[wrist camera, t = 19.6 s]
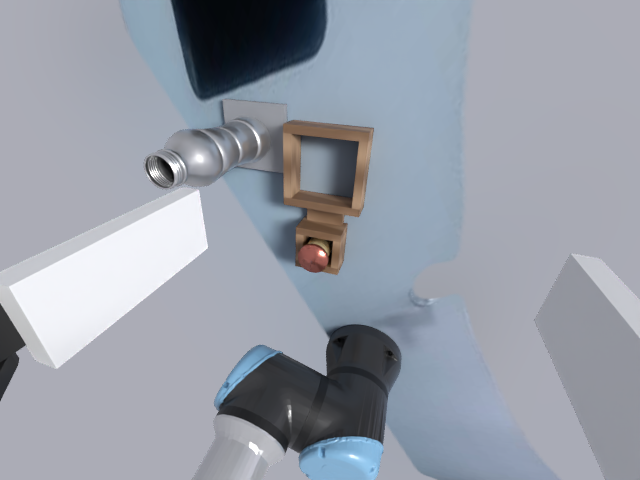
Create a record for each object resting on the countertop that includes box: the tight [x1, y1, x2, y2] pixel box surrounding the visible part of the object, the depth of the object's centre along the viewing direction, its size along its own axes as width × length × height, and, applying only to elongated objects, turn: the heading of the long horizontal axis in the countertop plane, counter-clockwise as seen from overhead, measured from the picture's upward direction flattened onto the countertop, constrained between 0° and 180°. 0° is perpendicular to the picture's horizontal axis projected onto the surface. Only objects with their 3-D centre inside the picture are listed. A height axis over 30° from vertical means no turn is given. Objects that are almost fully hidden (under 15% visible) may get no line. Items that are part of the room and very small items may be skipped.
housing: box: [283, 120, 374, 275], centre depth 47 cm, size 23×12×4 cm, turn 177°
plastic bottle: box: [144, 116, 271, 189], centre depth 38 cm, size 6×7×20 cm
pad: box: [222, 99, 287, 173], centre depth 47 cm, size 10×10×1 cm
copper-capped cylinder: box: [298, 237, 333, 273], centre depth 49 cm, size 5×5×7 cm
